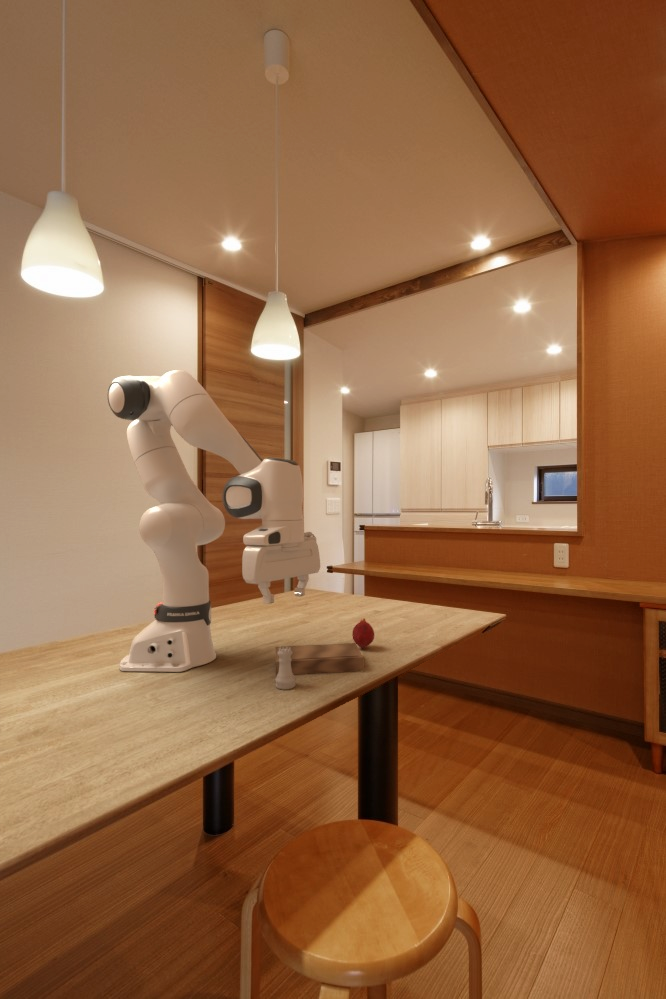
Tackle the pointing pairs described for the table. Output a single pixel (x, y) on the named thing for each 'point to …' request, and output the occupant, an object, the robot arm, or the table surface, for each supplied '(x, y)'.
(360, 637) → the onion
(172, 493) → the robot arm
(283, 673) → the rook chess piece
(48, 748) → the table surface
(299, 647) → the walnut board
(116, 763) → the table surface
